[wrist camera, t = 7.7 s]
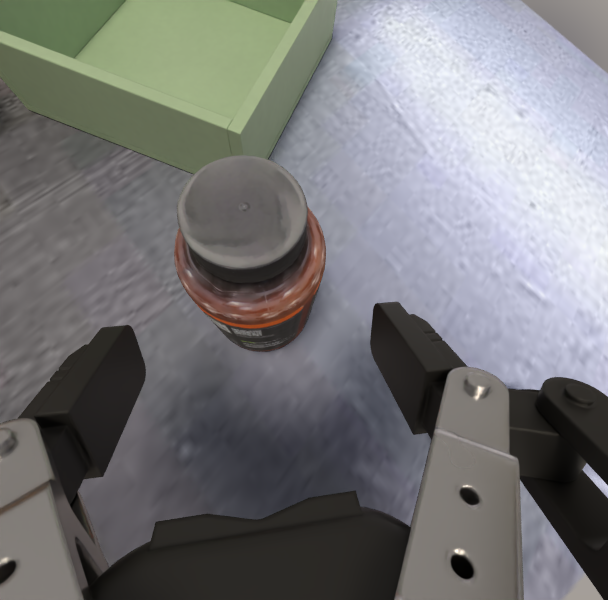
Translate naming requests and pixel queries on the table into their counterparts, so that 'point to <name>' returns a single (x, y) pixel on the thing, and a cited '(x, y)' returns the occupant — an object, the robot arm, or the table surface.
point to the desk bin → (167, 70)
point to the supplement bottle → (249, 250)
